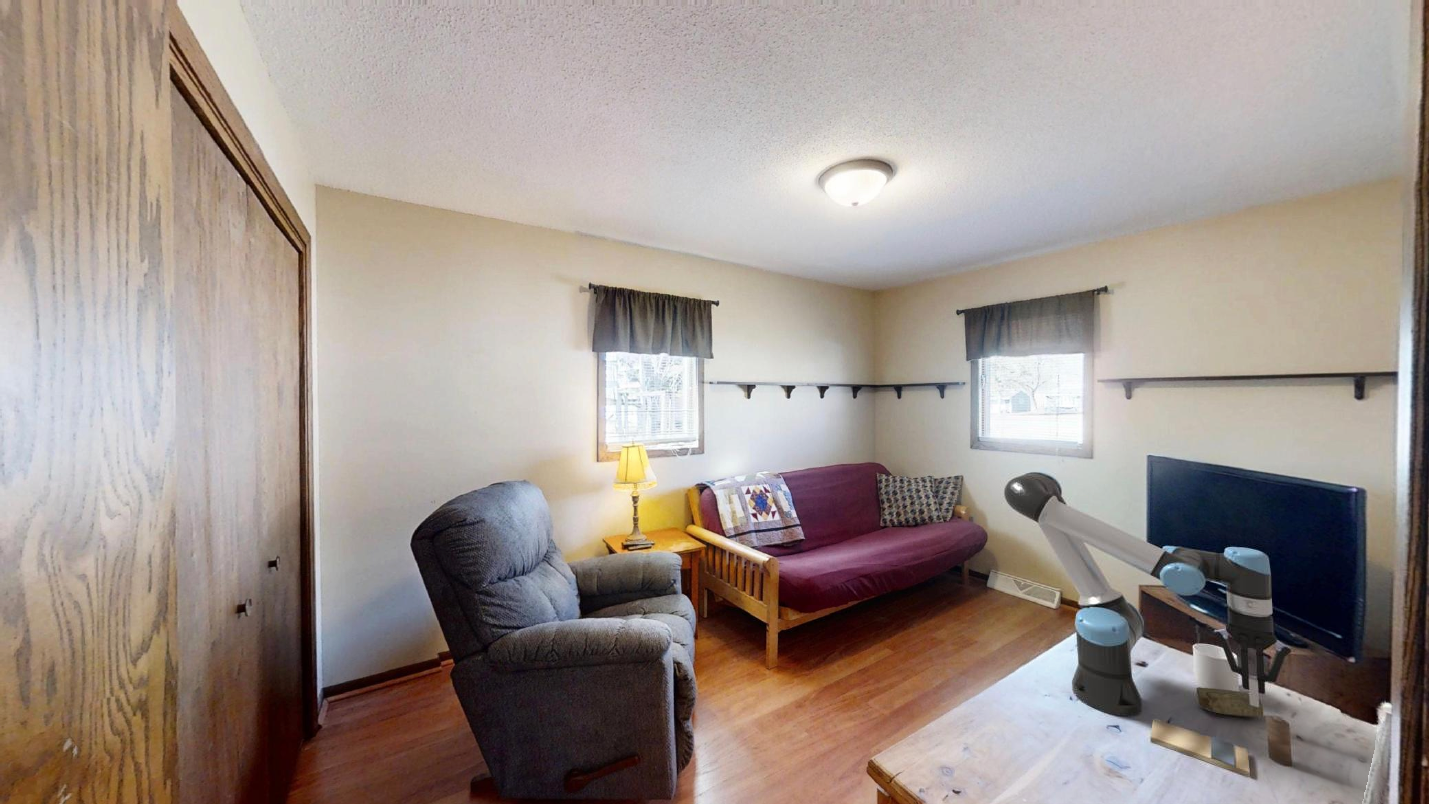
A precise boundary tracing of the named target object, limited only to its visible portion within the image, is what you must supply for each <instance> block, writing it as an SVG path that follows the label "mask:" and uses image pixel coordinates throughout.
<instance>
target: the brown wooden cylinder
mask: <svg viewBox="0 0 1429 804" xmlns="http://www.w3.org/2000/svg"><path fill="white" fill-rule="evenodd" d="M1265 718H1266V719H1265V721H1266V733H1267V734H1266V736H1267V750H1268V758H1269V759H1270V760H1271V761H1273V762H1274V763H1277V764H1279V765H1281V766H1285V767H1292V766H1293V757H1292V744H1291V743H1292V742H1291V741H1292V740H1291V728H1290V726H1291V725H1290V723H1289V722H1288V721H1287V720H1284V719H1283V718H1282V717H1281V716H1278V715H1276V714H1275V715H1267V716H1266V717H1265Z"/></svg>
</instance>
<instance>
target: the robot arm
mask: <svg viewBox="0 0 1429 804" xmlns="http://www.w3.org/2000/svg"><path fill="white" fill-rule="evenodd" d="M1062 493H1063V490H1062V486H1061V484H1060V483H1059V481H1058V479H1056V478H1055V476H1052V475H1051V474H1049V473H1046V472H1042V471H1030V472H1028V473H1027V472H1025V474H1022V475H1019V476H1016V477H1013V478H1012V479H1010V480H1009V481H1008V482H1007V483H1006V485H1005V487H1004V490H1003V494H1004V499H1005V501H1006V503H1007V504H1008V505H1009V507H1010V508H1011V509H1012V510H1014V511H1015V512H1017V513H1019V514H1021V515H1022V516H1025V517H1026V518H1028V519H1029V520H1031V521H1033V522H1036V523H1037V524H1038V526H1039V528H1040V529H1041V532H1042V533H1043V535H1044V536H1045V538H1046V540H1047V541H1048V543H1049V545H1050V547H1051V549H1052V550H1053V551H1054V554H1055V555H1056V557H1057V558H1058V560H1059V562H1060V563H1061V565H1062V567H1063V569H1064V570H1065V572H1066V575H1067V576H1068V577H1069V579H1070V581H1071V582H1072V584H1073V586H1074V588H1075V589H1076V591H1077V593H1078V595H1079V599H1078V601H1077V603H1078V606H1079V607H1080V610H1078V611H1077V612H1076V615H1075V620H1074V625H1075V626H1074V627H1075V633H1076V648H1077V650H1076V652H1077V662H1078V664H1077V667H1076V669H1075V672H1074V675H1073V677H1072V680H1071V690H1072V693H1073V692H1074V693H1073V695H1075V694H1076V695H1075V697H1076V696H1078V697H1077V699H1078V700H1080V699H1081V700H1082V702H1083V701H1084V702H1085V703H1084V702H1083V703H1084V704H1086V703H1087V704H1086V705H1088V706H1090V707H1091V708H1094V709H1095V710H1099V711H1101V712H1105V713H1108V714H1111V715H1118V716H1125V717H1128V716H1129V717H1130V716H1131V717H1132V716H1138V715H1139V714H1141V713H1142V712H1143V710H1144V709H1143V700H1142V697H1141V695H1140V693H1139V690H1138V687H1137V685H1136V684H1135V681H1134V679H1133V672H1132V657H1131V656H1132V650H1133V648H1134V647H1135V645H1136V644H1137V642H1138V641H1139V640H1140V639H1141V638H1142V636H1143V634H1144V627H1145V623H1144V618H1143V616H1142V615H1141V613H1140V612H1139V610H1138V609H1137V607H1135V606H1134V605H1133V604H1132V603H1130V602H1128V601H1127V600H1126V598H1125V597H1124V596H1123V593H1122V592H1121V591H1118V590H1116V589H1114V588H1112V586H1111V585H1110V583H1109V581H1108V580H1107V578H1106V577H1105V575H1104V573H1103V571H1102V570H1101V568H1100V567H1099V565H1098V563H1097V562H1096V559H1095V558H1094V557H1093V555H1092V554H1091V552H1090V550H1089V549H1088V547H1087V545H1089V546H1091V547H1093V548H1095V549H1098V550H1099V551H1100V552H1101V551H1102V552H1103V553H1105V554H1107V555H1109V556H1112V557H1113V558H1115V559H1117V560H1120V561H1121V562H1123V563H1125V564H1128V565H1129V566H1131V567H1132V568H1136V569H1138V570H1140V571H1141V572H1144V573H1145V574H1147V575H1150V576H1152V577H1153V578H1156V579H1157V580H1159V581H1160V582H1161V583H1162V584H1163V586H1164V587H1165V588H1166V589H1167V590H1169V591H1171V592H1172V593H1174V594H1177V595H1179V596H1193V595H1196V594H1198V593H1199V592H1201V590H1202V589H1204V587H1205V586H1206V582H1208V581H1209V582H1213V583H1218V584H1219V583H1220V584H1225V585H1226V600H1227V601H1226V602H1227V606H1228V607H1227V621H1228V622H1227V624H1226V625H1225V628H1222V629H1219V628H1215V629H1214V631H1213V632H1214V636H1215V637H1216V638H1217V639H1218V640H1219V641H1220V644H1221V646H1222V647H1221V648H1223V649H1224V652H1225V655H1226V657H1227V660H1228V663H1229V665H1230V668H1231V670H1232V671H1233V672H1235V673H1238V675H1240V676H1241V686H1242V687H1241V688H1242V689H1243V690H1246V691H1248V694H1249V699H1250V705H1252V706H1256V707H1259V699H1260V698H1259V696H1260V695H1259V694H1261V695H1265V694H1266V683H1267V682H1271V683H1276V682H1277V679H1278V677H1279V674H1280V671H1281V669H1282V665H1283V664H1284V663H1283V662H1284V660H1285V657H1287V656H1288V655H1289V654H1290V653H1291V652H1292V649H1291V646H1290V645H1289V644H1287V643H1283V642H1281V641H1280V640H1278V639H1277V636H1276V635H1275V632H1274V620H1273V619H1274V617H1273V616H1272V614H1273V602H1272V600H1273V599H1272V572H1271V565H1270V559H1269V556H1268V554H1266V553H1264V552H1262V551H1260V550H1258V549H1253V548H1248V547H1240V546H1239V547H1237V546H1230V547H1229V546H1228V547H1226V548H1225V549H1224V552H1223V553H1218V552H1212V551H1207V550H1206V551H1205V550H1200V549H1192V548H1188V547H1182V546H1174V545H1165V546H1163V547H1162V548H1160V547H1159V546H1156V545H1154V544H1152V543H1149V542H1148V541H1145V540H1143V539H1141V538H1139V537H1137V536H1135V535H1132V534H1130V533H1128V532H1126V531H1124V530H1121V529H1120V528H1117V527H1115V526H1113V525H1111V524H1109V523H1107V522H1104V521H1103V520H1100V519H1098V518H1095V517H1094V516H1091V515H1089V514H1087V513H1085V512H1083V511H1080V510H1078V509H1077V508H1075V507H1073V506H1070V505H1068V504H1067V502H1066V501H1065V499H1064V498H1063V496H1062ZM1085 543H1086V544H1087V545H1086V544H1085ZM1229 636H1231V638H1232V639H1233V640H1234V641H1235V642H1236V643H1237V644H1238V645H1239V650H1240V666H1239V665H1238V666H1237V664H1236V661H1235V658H1234V656H1233V653H1234V652H1233V651H1232V649H1231V648H1232V647H1231V646H1230V642H1229V640H1228V639H1229ZM1273 645H1274V649H1275V653H1274V655H1273V658H1272V661H1271V664H1270V666H1269V669H1268V672H1267V673H1265V663H1264V660H1265V659H1264V658H1265V657H1264V651H1265V650H1268V649H1269V648H1270V647H1272V646H1273ZM1248 649H1253V650H1254V651H1255V664H1256V665H1255V667H1256V676H1255V675H1251V674H1249V673H1250V672H1249V669H1250V667H1249V652H1248V651H1249V650H1248ZM1232 652H1233V653H1232ZM1081 700H1080V701H1081Z"/></svg>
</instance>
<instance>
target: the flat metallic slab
mask: <svg viewBox="0 0 1429 804" xmlns="http://www.w3.org/2000/svg"><path fill="white" fill-rule="evenodd" d="M1152 719H1153V720H1152V723H1151V725H1152V726H1151V731H1150V742H1151V743H1154V744H1156V745H1159V746H1162V747H1164V748H1167V749H1170V750H1173V751H1177V752H1178V753H1181V754H1184V755H1187V756H1190V757H1193V758H1195V759H1199V760H1201V761H1204V762H1206V763H1209V764H1212V765H1215V766H1217V767H1220V768H1223V769H1226V770H1228V771H1231V772H1235V773H1236V774H1239V775H1243V776H1245V777H1248V778H1251V773H1250V770H1251V769H1250V763H1249V752H1248V749H1246V748H1243V747H1239V746H1237V745H1234V743H1232V742H1229V741H1226V740H1223V739H1219V738H1218V737H1214V736H1207V735H1203V734H1201V733H1199V732H1196V731H1193V730H1189V729H1186V728H1183V727H1180V726H1177V725H1175V724H1171V723H1168V722H1166V721H1161V720H1159V719H1156V718H1152Z"/></svg>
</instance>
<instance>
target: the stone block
mask: <svg viewBox="0 0 1429 804" xmlns="http://www.w3.org/2000/svg"><path fill="white" fill-rule="evenodd" d="M1196 694H1197V701H1198V705H1199V706H1200V708H1202V709H1204V710H1208V711H1209V712H1213V713H1216V714H1222V715H1228V716H1229V715H1231V716H1235V717H1237V716H1238V717H1248V718H1263V717H1264V707H1263V703H1262V700H1261V699H1260V698H1259V707H1256V706H1252V705H1250V699H1249V692H1243V691H1240V690H1239V691H1231V690H1222V689H1212V688H1200V687H1199V686H1198V687H1196Z"/></svg>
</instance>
